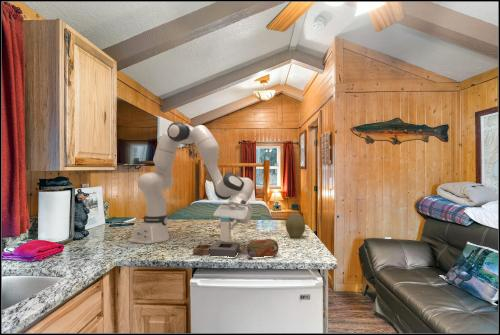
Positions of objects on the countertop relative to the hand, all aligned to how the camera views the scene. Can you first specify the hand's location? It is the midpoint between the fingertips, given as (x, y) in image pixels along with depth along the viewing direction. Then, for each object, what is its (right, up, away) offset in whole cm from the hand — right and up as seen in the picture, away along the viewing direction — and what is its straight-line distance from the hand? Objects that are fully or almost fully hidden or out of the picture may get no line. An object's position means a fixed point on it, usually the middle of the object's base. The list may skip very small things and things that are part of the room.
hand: (224, 227), depth 121 cm
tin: (+18, -13, -4) cm, 22 cm away
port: (0, -13, 0) cm, 13 cm away
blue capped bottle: (0, -6, 0) cm, 6 cm away
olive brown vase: (+39, -13, +31) cm, 52 cm away
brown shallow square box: (-11, -13, +2) cm, 17 cm away
